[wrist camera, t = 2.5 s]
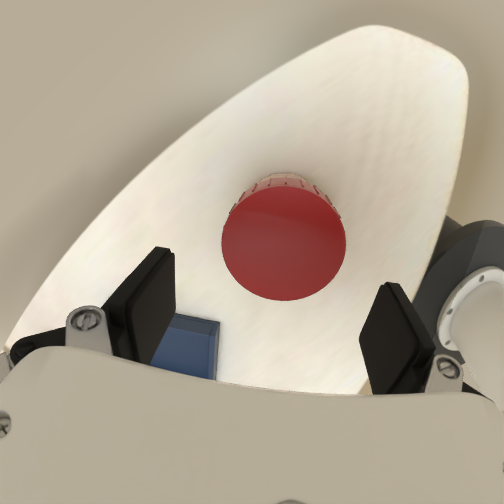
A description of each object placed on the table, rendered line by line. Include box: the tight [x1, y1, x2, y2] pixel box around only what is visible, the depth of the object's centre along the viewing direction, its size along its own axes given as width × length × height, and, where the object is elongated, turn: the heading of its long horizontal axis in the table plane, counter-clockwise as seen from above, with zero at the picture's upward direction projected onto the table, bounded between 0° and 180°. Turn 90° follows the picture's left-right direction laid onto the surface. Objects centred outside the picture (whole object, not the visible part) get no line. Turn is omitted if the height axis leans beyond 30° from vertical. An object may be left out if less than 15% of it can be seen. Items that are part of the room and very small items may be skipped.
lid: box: [222, 176, 346, 301], centre depth 17 cm, size 7×7×3 cm
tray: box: [149, 313, 220, 381], centre depth 30 cm, size 13×10×2 cm
